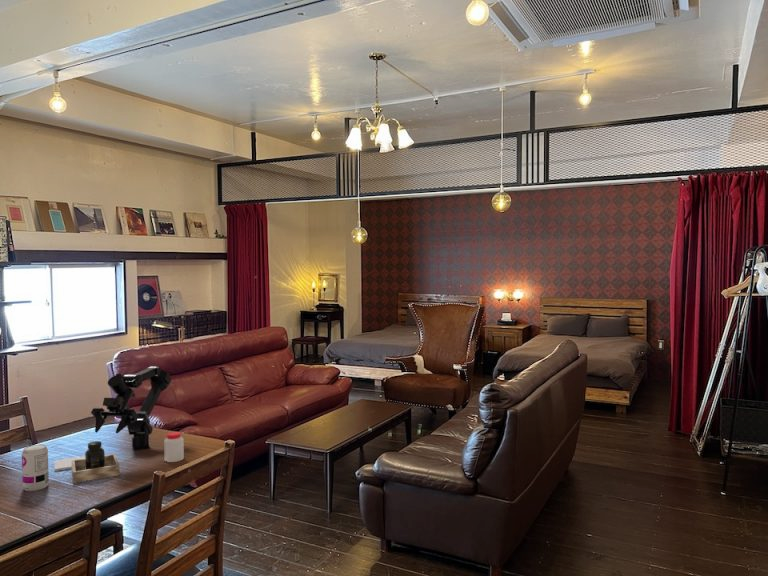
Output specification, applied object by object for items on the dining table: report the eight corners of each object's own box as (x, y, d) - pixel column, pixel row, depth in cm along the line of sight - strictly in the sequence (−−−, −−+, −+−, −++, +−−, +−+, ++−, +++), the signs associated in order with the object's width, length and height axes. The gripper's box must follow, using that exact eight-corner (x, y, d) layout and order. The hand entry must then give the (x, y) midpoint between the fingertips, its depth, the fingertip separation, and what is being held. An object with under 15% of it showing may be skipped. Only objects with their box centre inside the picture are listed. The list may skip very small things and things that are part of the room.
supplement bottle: (108, 470, 228) (108, 440, 228) (98, 476, 222) (97, 445, 221) (92, 469, 229) (91, 440, 229) (81, 475, 222) (81, 445, 222)
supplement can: (21, 493, 205) (20, 452, 204) (24, 485, 212) (23, 446, 211) (47, 489, 208) (47, 448, 208) (49, 482, 216) (48, 442, 215)
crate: (115, 463, 236) (115, 453, 236) (119, 475, 222) (119, 465, 222) (71, 470, 228) (71, 460, 228) (73, 483, 214) (72, 472, 214)
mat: (86, 458, 243) (86, 455, 243) (88, 466, 233) (88, 463, 233) (54, 462, 237) (54, 460, 237) (54, 471, 227) (54, 469, 227)
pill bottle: (187, 457, 244) (187, 431, 243) (175, 463, 236) (175, 436, 236) (172, 455, 246) (172, 430, 246) (160, 461, 239) (160, 435, 239)
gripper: (93, 388, 239) (75, 421, 229) (134, 389, 237) (118, 422, 226) (105, 403, 247) (88, 435, 236) (145, 404, 245) (130, 437, 234)
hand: (106, 432), depth 233 cm, fingers open, 9 cm apart
